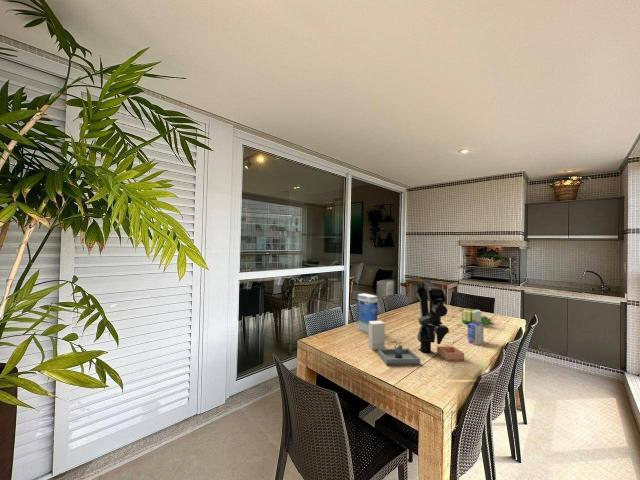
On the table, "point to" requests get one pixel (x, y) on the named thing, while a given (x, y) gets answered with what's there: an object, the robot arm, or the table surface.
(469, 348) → the table surface
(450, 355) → the bin
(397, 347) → the battery cell
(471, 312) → the toy landscape diorama
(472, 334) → the ink cartridge box
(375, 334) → the skincare box
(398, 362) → the tray
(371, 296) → the blue white lidded canister
